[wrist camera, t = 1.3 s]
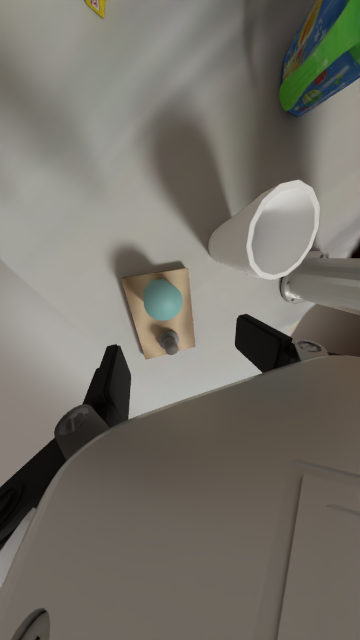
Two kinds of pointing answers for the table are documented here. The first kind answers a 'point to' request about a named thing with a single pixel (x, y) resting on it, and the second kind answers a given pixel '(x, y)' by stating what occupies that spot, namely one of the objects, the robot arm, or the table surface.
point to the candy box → (97, 6)
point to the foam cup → (269, 232)
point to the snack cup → (322, 55)
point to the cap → (162, 300)
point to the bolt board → (154, 332)
